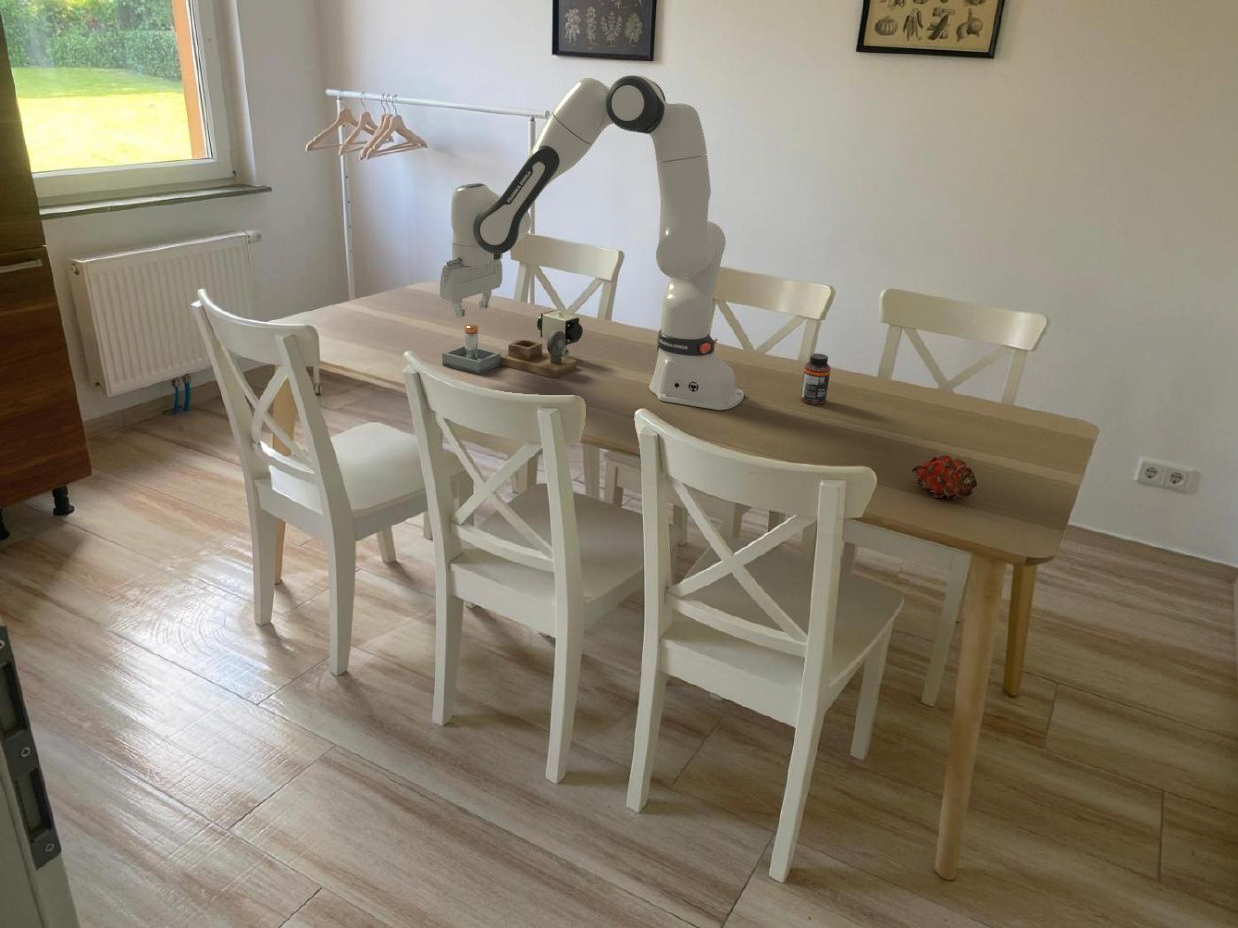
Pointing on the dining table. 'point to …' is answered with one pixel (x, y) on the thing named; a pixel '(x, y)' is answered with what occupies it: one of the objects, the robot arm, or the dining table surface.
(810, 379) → the supplement bottle
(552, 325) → the pneumatic valve
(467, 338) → the lock pin
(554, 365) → the wooden desk organizer
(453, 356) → the parts tray
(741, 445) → the dining table surface
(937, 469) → the dragon fruit
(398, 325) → the dining table surface
